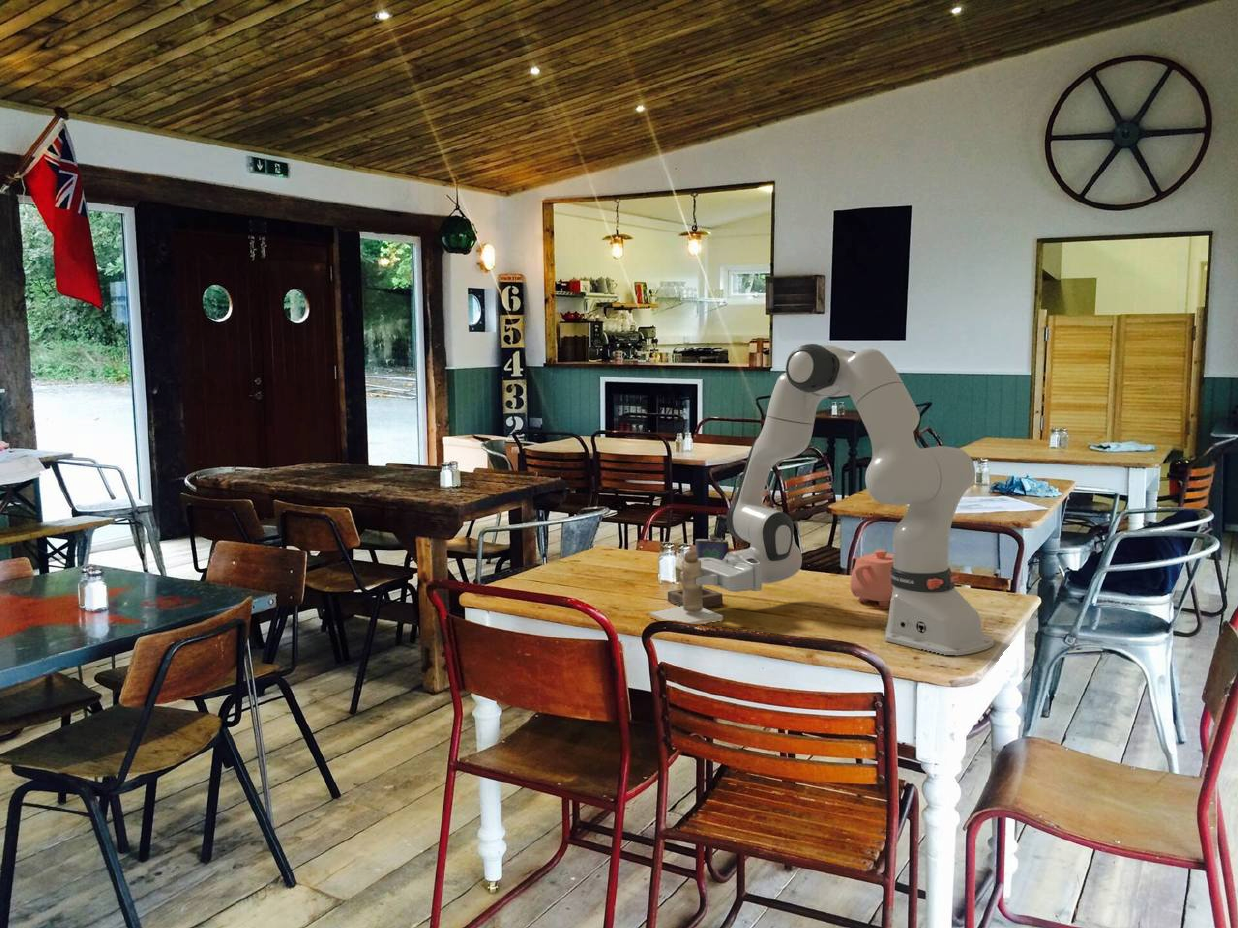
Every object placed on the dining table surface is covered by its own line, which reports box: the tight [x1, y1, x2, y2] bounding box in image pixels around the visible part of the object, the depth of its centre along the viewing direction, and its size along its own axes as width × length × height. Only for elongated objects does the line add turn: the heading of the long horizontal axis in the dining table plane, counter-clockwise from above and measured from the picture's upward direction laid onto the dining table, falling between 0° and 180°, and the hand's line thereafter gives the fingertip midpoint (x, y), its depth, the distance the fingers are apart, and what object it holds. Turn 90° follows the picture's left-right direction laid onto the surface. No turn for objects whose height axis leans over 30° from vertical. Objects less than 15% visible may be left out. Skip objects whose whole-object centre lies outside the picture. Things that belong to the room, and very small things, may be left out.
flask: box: [694, 532, 730, 561], centre depth 274 cm, size 9×3×11 cm, turn 65°
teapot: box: [850, 549, 893, 608], centre depth 242 cm, size 20×12×12 cm, turn 131°
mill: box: [681, 549, 703, 612], centre depth 233 cm, size 4×4×14 cm
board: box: [648, 606, 724, 624], centre depth 233 cm, size 12×12×1 cm
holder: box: [667, 585, 724, 609], centre depth 246 cm, size 9×9×2 cm
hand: (688, 578), depth 232 cm, fingers closed on mill, 4 cm apart
